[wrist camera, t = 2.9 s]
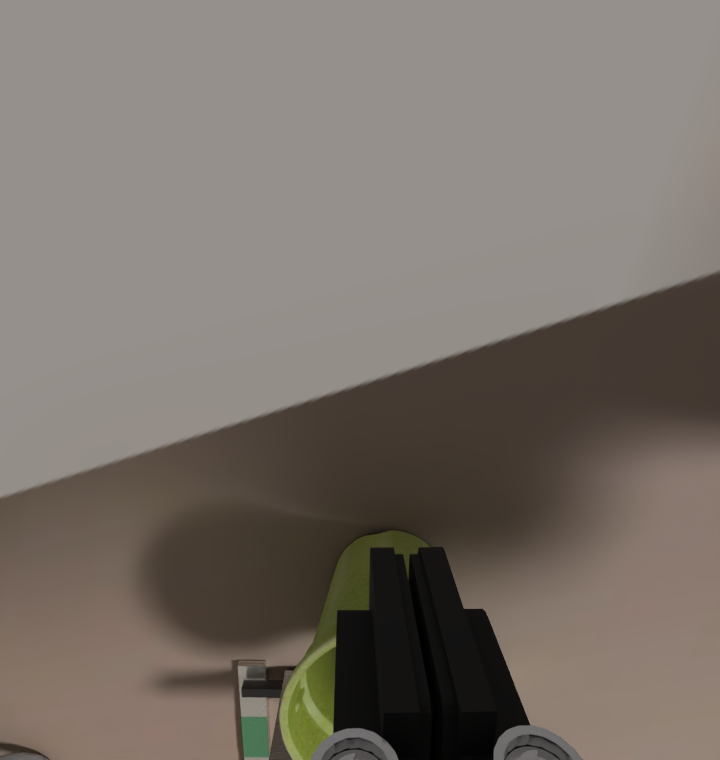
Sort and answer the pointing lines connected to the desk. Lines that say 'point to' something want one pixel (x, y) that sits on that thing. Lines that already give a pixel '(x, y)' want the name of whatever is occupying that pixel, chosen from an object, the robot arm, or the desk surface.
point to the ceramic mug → (22, 756)
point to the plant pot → (331, 646)
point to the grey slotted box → (254, 713)
